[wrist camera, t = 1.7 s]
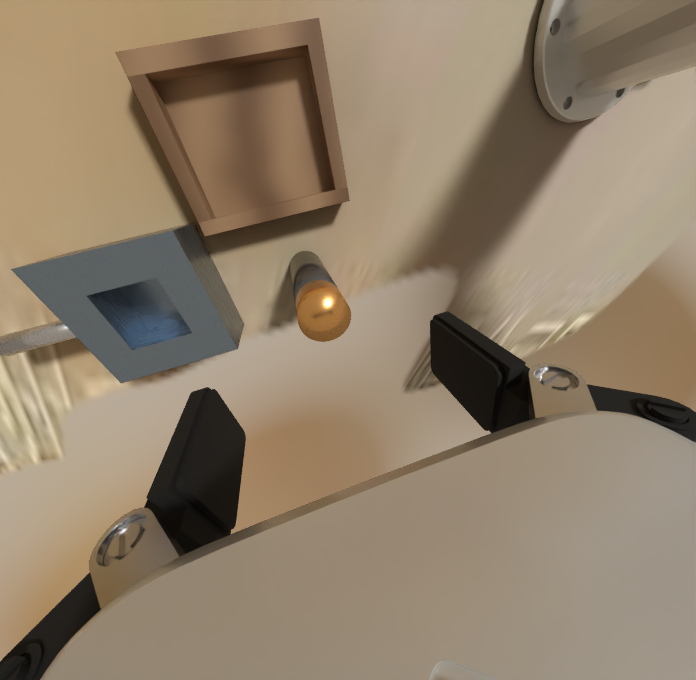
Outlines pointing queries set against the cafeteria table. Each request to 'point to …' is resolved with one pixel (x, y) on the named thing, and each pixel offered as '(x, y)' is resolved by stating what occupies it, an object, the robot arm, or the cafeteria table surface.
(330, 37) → the cafeteria table surface
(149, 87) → the tray
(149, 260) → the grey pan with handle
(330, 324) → the orange grey cylinder
